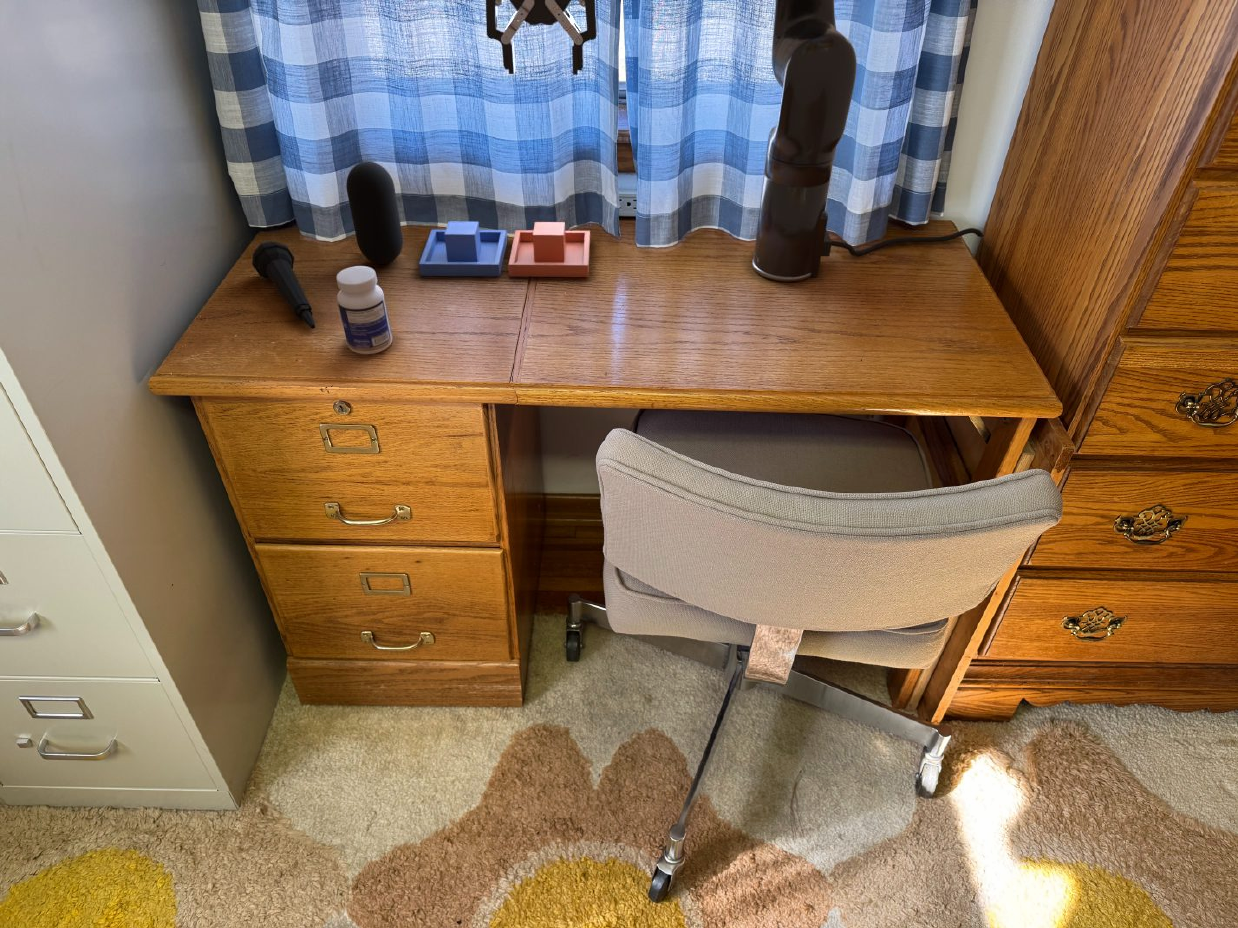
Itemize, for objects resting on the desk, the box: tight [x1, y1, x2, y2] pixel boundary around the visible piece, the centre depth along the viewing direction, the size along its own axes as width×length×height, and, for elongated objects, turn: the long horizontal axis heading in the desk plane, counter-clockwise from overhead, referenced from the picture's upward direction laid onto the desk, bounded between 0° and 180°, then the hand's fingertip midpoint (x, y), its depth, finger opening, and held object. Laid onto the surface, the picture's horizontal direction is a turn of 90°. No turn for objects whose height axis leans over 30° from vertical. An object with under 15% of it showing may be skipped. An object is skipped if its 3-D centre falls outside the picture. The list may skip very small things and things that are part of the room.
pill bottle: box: [336, 265, 393, 355], centre depth 107 cm, size 6×6×10 cm
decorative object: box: [345, 161, 404, 265], centre depth 123 cm, size 7×7×15 cm
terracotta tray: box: [507, 229, 591, 278], centre depth 128 cm, size 12×12×2 cm
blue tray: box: [418, 229, 508, 277], centre depth 128 cm, size 12×12×2 cm
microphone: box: [251, 240, 316, 330], centre depth 118 cm, size 6×6×20 cm
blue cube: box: [444, 220, 481, 262], centre depth 127 cm, size 4×4×4 cm
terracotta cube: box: [533, 221, 566, 263], centre depth 127 cm, size 4×4×4 cm
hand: (544, 73), depth 114 cm, fingers open, 8 cm apart
